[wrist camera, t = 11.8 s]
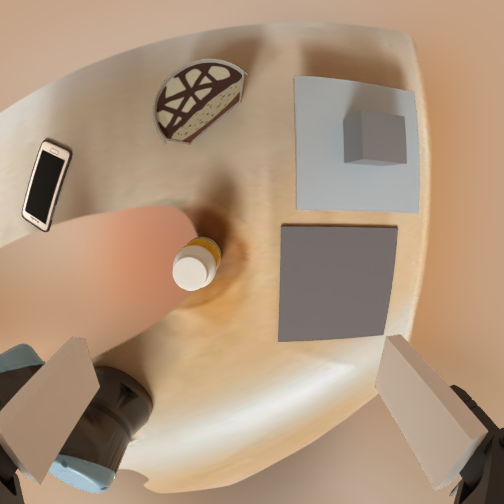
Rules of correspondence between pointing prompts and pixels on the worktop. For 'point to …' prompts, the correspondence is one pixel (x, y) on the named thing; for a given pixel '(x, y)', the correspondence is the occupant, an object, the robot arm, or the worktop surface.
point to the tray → (335, 281)
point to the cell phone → (45, 184)
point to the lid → (355, 146)
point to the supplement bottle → (196, 263)
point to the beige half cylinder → (196, 98)
